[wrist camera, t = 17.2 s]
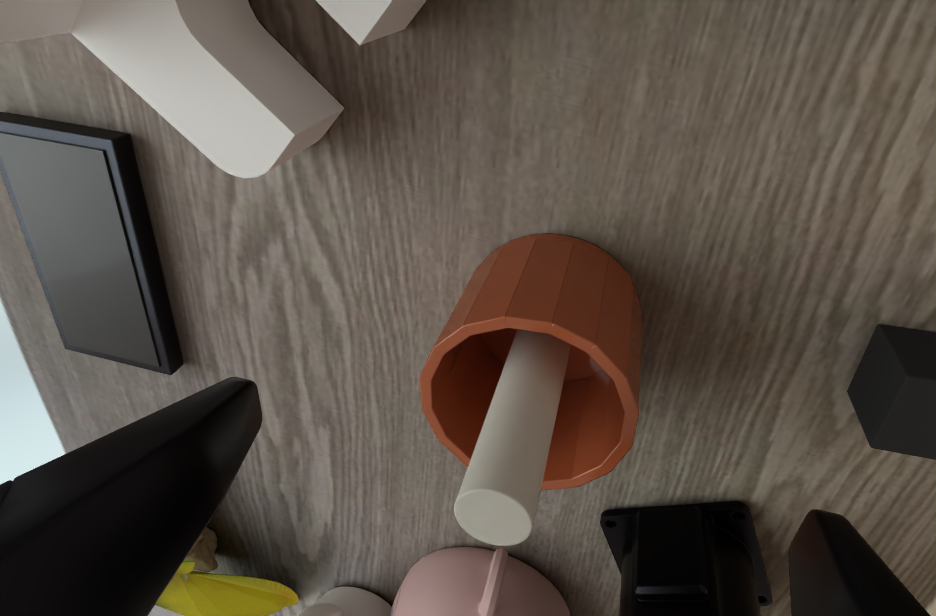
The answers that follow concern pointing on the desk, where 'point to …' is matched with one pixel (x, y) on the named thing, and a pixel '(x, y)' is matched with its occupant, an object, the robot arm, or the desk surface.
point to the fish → (223, 594)
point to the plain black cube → (898, 391)
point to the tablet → (90, 239)
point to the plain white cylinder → (514, 442)
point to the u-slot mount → (211, 67)
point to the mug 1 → (348, 604)
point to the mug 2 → (476, 586)
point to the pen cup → (562, 315)
